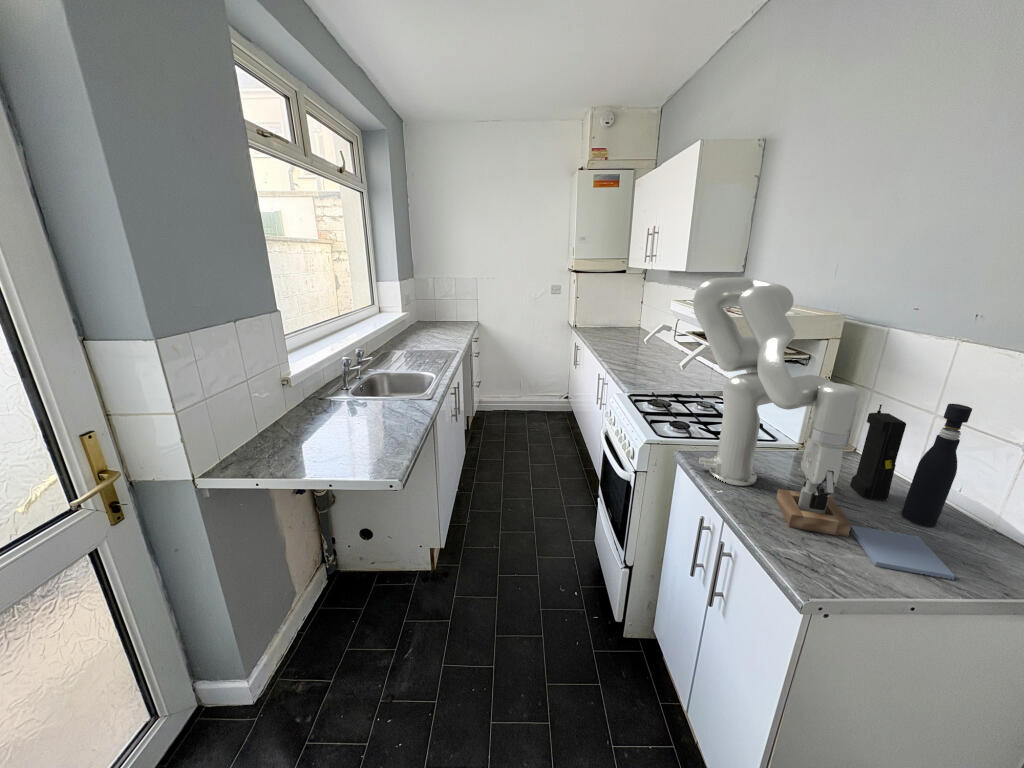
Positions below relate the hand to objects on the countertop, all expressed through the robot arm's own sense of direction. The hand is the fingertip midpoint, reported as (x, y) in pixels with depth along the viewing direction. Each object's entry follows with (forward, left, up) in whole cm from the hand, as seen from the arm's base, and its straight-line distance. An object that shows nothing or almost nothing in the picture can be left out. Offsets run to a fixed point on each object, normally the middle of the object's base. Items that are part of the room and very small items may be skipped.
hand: (812, 501), depth 102 cm
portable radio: (+19, +17, -5) cm, 26 cm away
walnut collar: (0, 0, -4) cm, 4 cm away
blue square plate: (+14, -9, -4) cm, 17 cm away
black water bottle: (+25, +7, -4) cm, 26 cm away
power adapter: (0, 0, -5) cm, 5 cm away
